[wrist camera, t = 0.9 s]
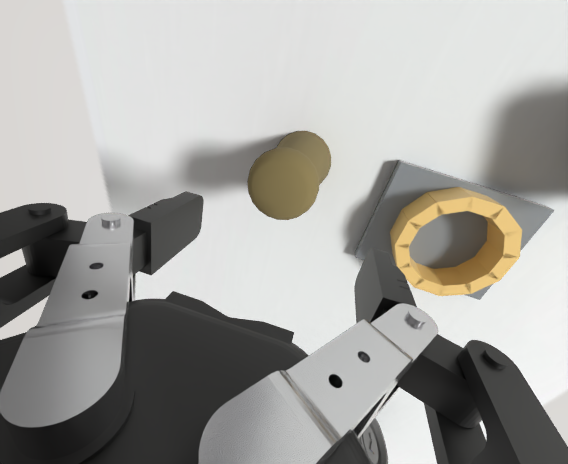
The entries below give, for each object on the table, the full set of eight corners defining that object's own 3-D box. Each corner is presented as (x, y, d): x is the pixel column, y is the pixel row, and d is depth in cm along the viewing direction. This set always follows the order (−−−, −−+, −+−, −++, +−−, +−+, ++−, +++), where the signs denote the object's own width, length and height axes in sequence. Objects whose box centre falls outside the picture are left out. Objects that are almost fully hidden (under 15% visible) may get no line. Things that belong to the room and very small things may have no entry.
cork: (325, 194, 28) (314, 239, 18) (271, 184, 29) (234, 223, 19) (336, 135, 25) (331, 152, 16) (276, 126, 26) (236, 137, 17)
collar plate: (399, 159, 25) (408, 168, 21) (545, 205, 24) (581, 223, 21) (355, 252, 30) (356, 272, 27) (474, 292, 29) (493, 319, 26)
